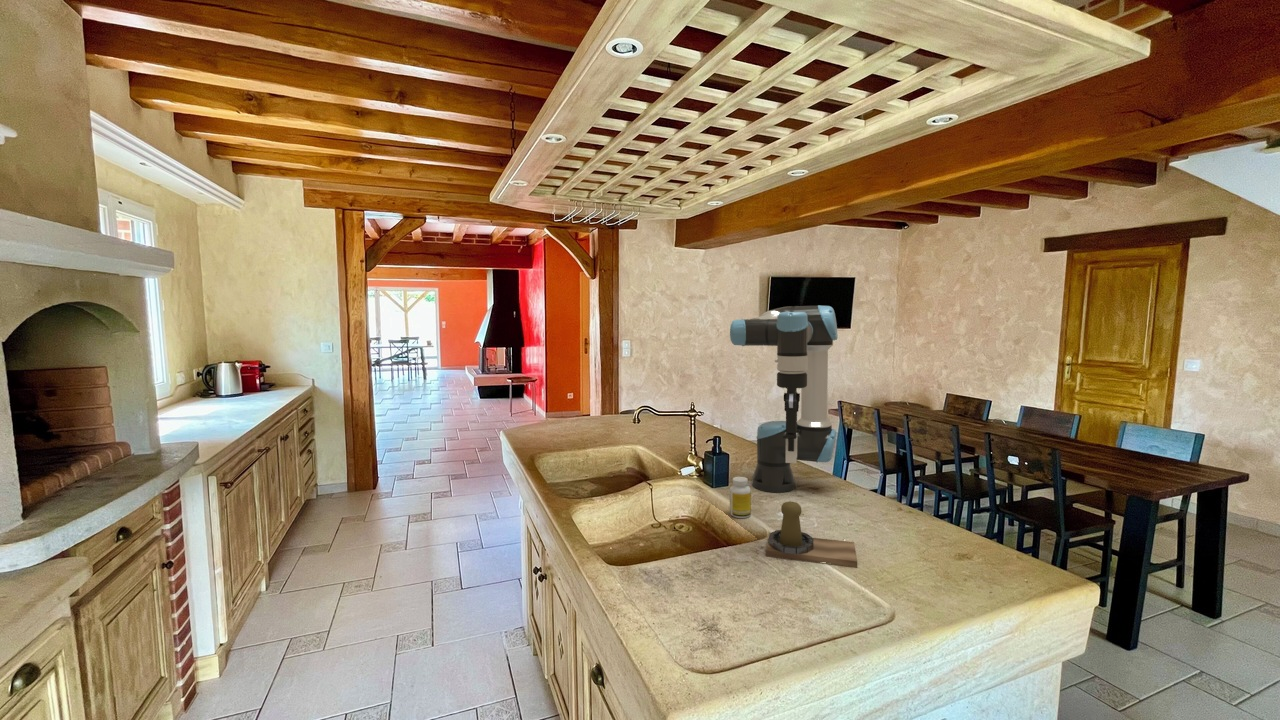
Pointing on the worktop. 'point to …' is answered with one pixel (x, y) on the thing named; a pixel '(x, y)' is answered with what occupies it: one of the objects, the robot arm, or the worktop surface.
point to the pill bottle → (740, 498)
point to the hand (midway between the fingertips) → (791, 459)
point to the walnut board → (823, 553)
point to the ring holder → (805, 548)
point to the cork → (791, 524)
